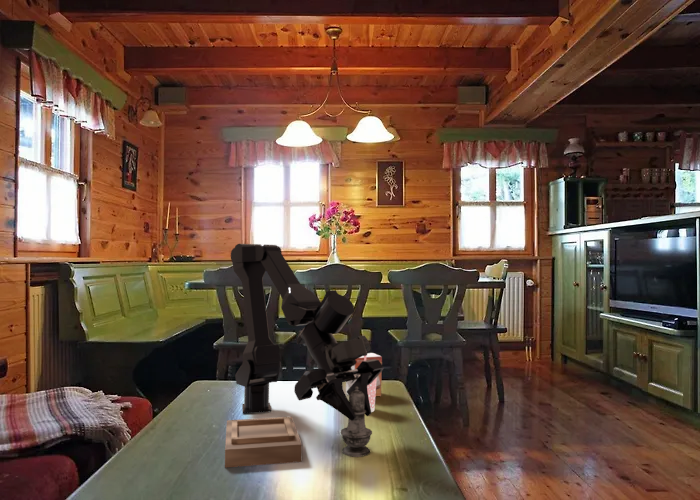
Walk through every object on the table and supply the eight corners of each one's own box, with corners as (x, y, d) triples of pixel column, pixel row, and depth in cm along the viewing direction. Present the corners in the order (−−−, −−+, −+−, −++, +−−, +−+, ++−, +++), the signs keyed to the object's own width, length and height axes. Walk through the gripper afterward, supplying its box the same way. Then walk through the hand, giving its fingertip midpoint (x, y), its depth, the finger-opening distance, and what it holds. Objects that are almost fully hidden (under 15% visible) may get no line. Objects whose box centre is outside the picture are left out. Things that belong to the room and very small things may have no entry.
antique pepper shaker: (369, 458, 90) (370, 390, 90) (337, 455, 91) (337, 388, 91) (374, 446, 96) (375, 383, 96) (343, 444, 97) (344, 381, 97)
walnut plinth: (226, 435, 101) (227, 416, 101) (291, 431, 104) (292, 412, 104) (224, 467, 85) (225, 444, 85) (301, 461, 88) (301, 439, 88)
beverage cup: (346, 409, 120) (347, 349, 120) (366, 404, 124) (366, 347, 124) (363, 415, 115) (363, 353, 116) (383, 410, 119) (383, 351, 119)
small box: (353, 399, 129) (354, 357, 129) (345, 394, 134) (345, 354, 134) (382, 396, 132) (382, 355, 132) (372, 391, 137) (373, 352, 137)
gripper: (304, 326, 90) (345, 401, 82) (377, 319, 103) (419, 383, 95) (278, 363, 96) (314, 437, 88) (350, 352, 109) (387, 416, 100)
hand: (361, 417), depth 92 cm, fingers closed on antique pepper shaker, 4 cm apart
